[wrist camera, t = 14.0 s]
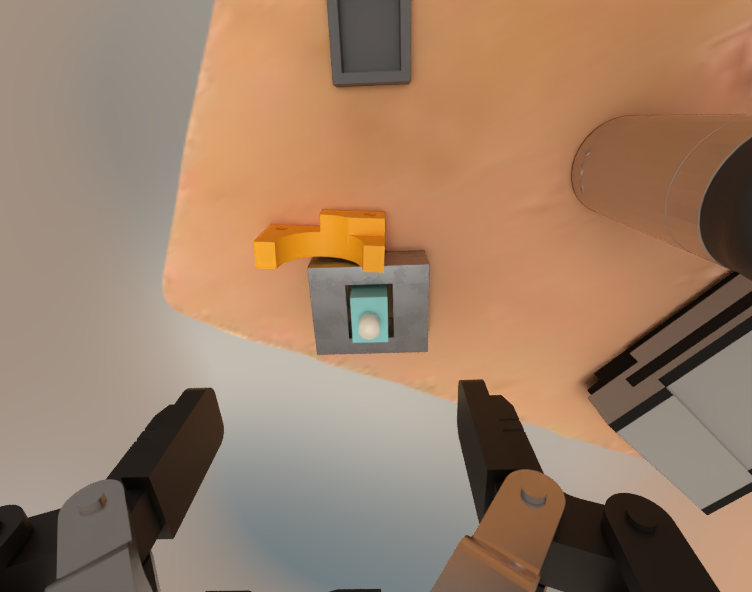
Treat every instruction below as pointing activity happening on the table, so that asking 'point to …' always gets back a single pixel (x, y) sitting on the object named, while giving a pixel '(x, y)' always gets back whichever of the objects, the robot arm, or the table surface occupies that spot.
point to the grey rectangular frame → (370, 42)
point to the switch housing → (337, 274)
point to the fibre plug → (369, 313)
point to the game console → (690, 396)
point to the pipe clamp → (326, 240)
